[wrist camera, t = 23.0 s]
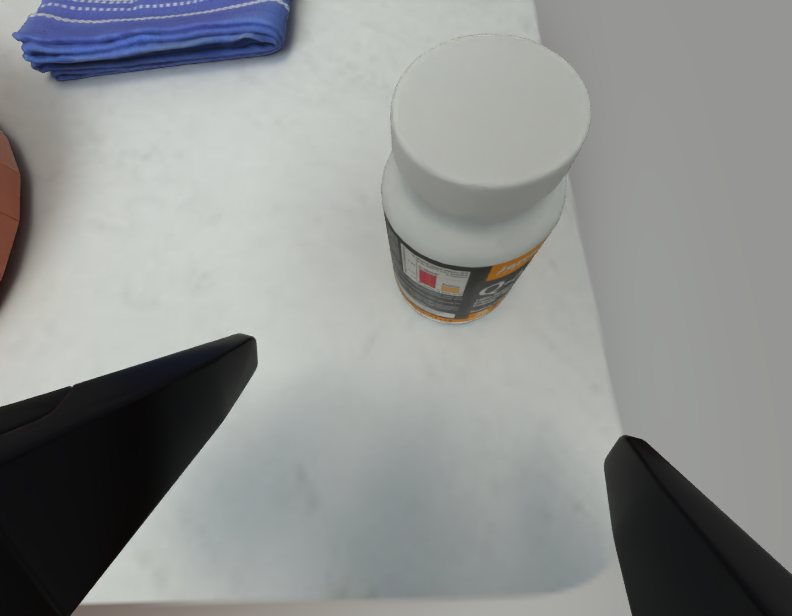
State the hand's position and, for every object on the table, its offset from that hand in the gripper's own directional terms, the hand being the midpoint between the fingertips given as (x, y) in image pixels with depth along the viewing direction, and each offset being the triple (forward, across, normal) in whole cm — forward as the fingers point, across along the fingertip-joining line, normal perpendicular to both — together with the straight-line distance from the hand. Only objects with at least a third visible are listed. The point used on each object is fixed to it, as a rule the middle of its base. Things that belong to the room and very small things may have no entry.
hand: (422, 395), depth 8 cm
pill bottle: (+10, 0, +1) cm, 10 cm away
